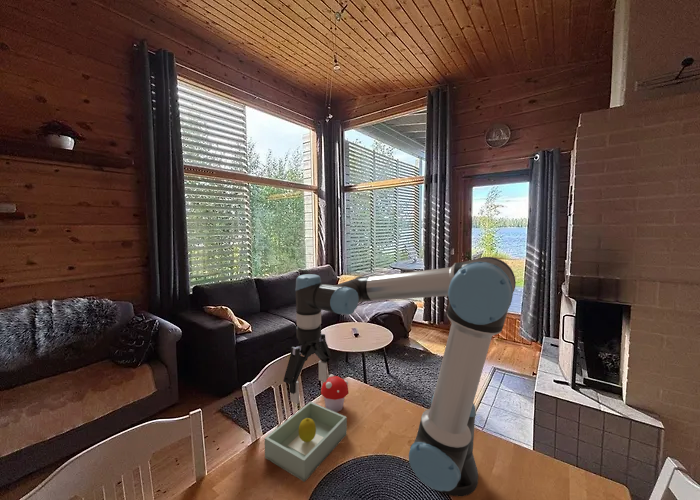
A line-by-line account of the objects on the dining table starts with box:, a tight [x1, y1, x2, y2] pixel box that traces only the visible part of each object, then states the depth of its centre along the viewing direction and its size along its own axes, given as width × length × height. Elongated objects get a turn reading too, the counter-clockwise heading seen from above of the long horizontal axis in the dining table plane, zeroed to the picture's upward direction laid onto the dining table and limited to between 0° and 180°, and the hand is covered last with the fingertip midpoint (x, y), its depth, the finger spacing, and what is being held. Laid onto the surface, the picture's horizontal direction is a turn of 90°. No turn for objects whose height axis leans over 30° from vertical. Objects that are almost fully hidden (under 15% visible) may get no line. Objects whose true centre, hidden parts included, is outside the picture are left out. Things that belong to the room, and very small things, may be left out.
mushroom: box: [320, 373, 349, 413], centre depth 117 cm, size 11×11×12 cm
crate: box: [264, 401, 348, 482], centre depth 97 cm, size 16×22×6 cm
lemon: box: [299, 418, 316, 442], centre depth 97 cm, size 6×6×8 cm
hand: (309, 390), depth 95 cm, fingers open, 13 cm apart
